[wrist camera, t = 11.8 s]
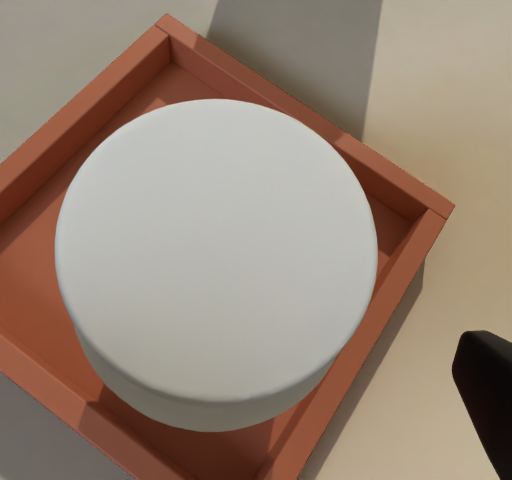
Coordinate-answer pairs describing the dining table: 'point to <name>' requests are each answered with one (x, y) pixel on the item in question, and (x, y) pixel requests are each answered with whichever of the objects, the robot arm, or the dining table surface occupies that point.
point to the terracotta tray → (60, 324)
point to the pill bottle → (214, 262)
